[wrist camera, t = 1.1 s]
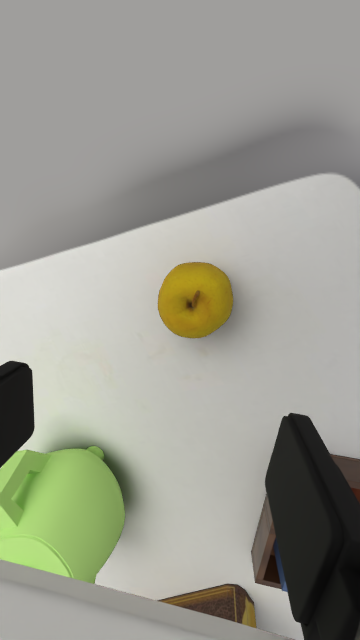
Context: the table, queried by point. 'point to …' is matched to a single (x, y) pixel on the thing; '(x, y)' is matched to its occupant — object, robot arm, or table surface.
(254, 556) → the tray
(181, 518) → the table surface
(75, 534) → the teapot
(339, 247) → the table surface
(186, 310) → the apple
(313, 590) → the robot arm
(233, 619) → the book
